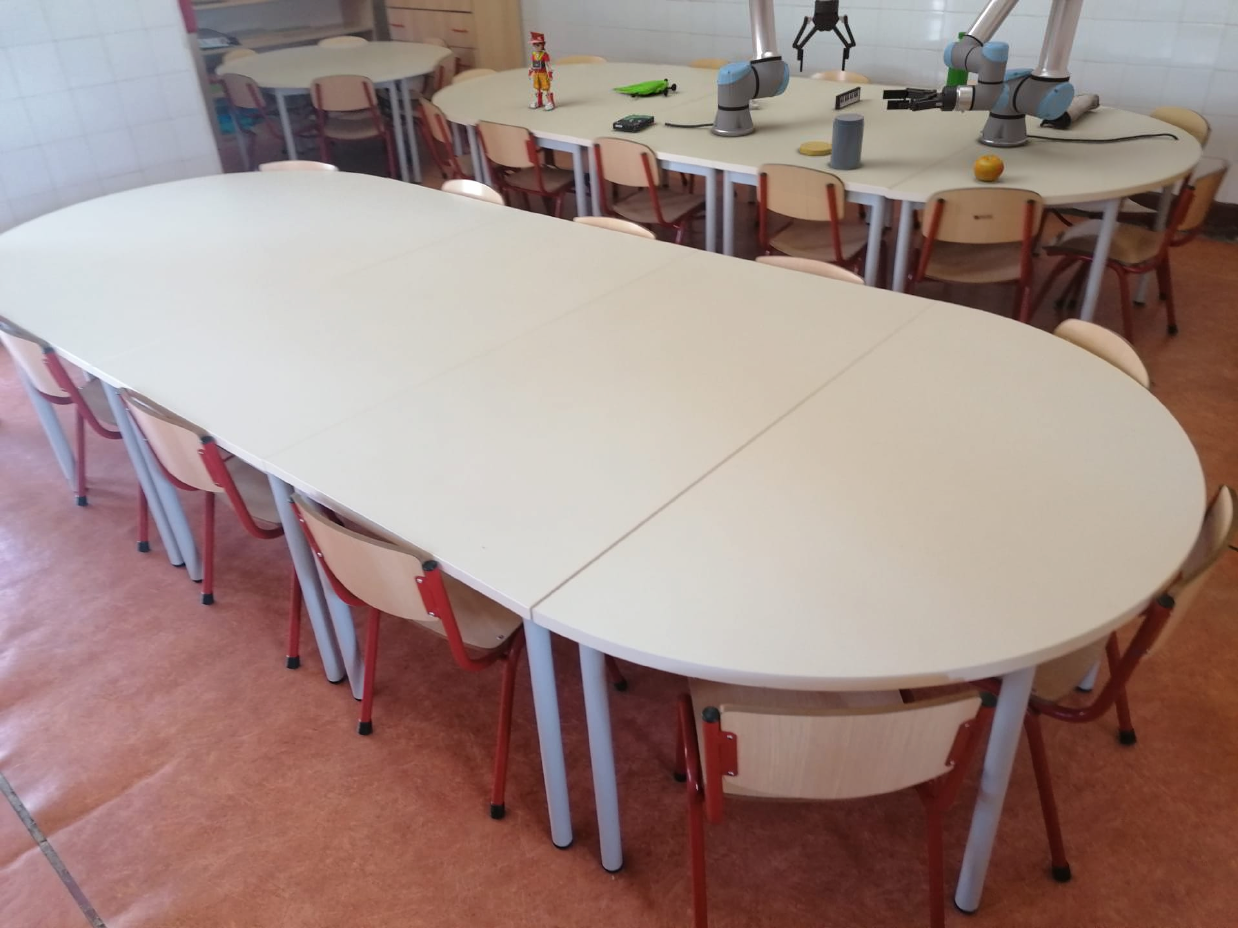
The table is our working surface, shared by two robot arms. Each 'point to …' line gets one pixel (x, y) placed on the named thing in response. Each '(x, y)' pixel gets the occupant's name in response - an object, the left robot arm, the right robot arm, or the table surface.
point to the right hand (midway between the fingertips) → (884, 100)
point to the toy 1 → (541, 71)
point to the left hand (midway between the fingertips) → (821, 70)
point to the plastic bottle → (957, 72)
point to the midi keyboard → (847, 97)
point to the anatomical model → (752, 104)
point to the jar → (847, 141)
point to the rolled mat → (1074, 110)
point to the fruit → (988, 168)
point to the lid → (815, 148)
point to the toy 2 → (648, 88)
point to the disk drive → (633, 123)
